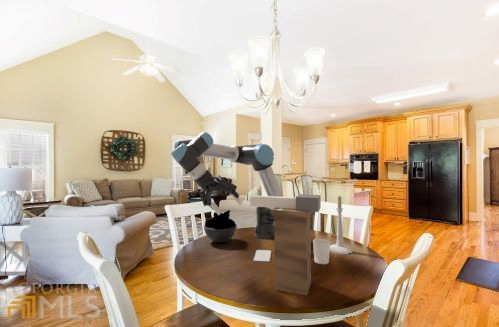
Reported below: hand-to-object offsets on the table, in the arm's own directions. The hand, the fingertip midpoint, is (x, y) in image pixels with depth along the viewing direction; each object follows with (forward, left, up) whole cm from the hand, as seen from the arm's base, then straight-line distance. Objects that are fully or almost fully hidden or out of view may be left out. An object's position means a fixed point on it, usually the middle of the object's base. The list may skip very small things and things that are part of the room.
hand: (230, 208), depth 114 cm
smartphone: (-17, +10, -28) cm, 34 cm away
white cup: (-20, +39, -27) cm, 52 cm away
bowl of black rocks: (-31, -22, -27) cm, 47 cm away
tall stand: (+9, +31, -27) cm, 42 cm away
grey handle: (+9, +27, +3) cm, 29 cm away
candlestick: (-40, +47, -27) cm, 68 cm away
